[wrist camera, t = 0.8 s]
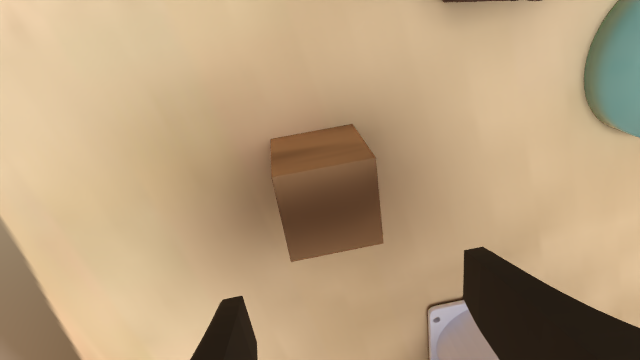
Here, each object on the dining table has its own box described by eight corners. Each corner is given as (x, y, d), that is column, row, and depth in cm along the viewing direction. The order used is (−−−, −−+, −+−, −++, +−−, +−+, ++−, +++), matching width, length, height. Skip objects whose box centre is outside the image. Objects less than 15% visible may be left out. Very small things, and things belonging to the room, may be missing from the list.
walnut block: (360, 195, 23) (383, 243, 18) (286, 209, 22) (291, 261, 18) (352, 123, 21) (375, 157, 16) (270, 138, 20) (271, 177, 16)
